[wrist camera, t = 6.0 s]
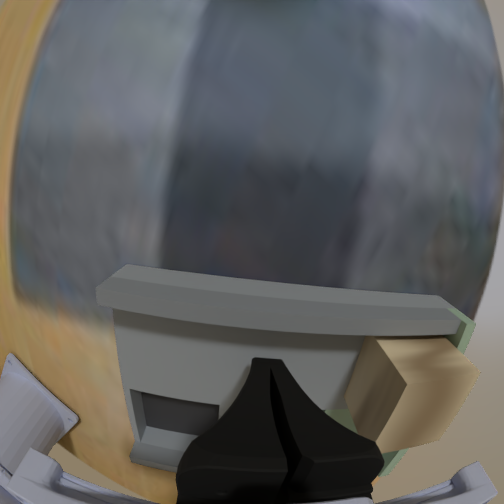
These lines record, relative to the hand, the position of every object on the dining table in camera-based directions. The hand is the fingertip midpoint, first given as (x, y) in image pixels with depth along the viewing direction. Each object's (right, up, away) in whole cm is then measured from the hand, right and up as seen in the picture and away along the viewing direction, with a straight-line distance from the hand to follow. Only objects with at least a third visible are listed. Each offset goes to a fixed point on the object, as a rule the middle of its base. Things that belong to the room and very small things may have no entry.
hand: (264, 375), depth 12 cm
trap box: (+1, -2, +4) cm, 4 cm away
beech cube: (+7, 0, +1) cm, 7 cm away
